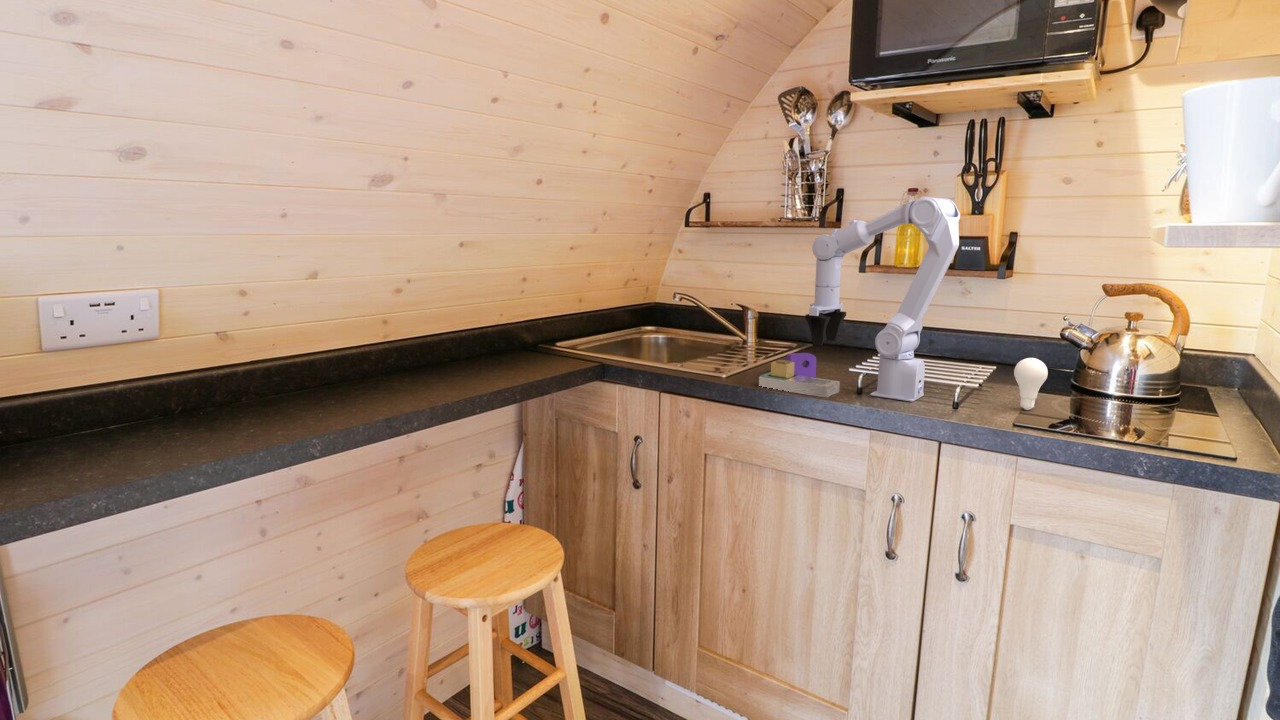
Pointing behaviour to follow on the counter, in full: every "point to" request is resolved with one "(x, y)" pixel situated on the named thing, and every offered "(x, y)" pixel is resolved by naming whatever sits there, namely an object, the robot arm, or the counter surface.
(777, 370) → the beige hollow block
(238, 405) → the counter surface
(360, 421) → the counter surface
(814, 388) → the white compartment tray
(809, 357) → the bracket
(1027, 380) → the lightbulb
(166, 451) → the counter surface
